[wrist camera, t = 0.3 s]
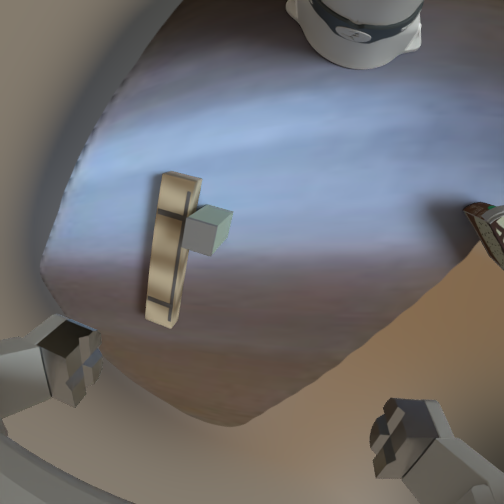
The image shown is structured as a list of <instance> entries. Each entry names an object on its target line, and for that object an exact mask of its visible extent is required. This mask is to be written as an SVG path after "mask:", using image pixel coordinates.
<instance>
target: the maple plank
mask: <svg viewBox="0 0 504 504" xmlns="http://www.w3.org/2000/svg"><path fill="white" fill-rule="evenodd" d="M201 184H202V179H201V178H197V177H193V176H189V175H185V174H181V173H177V172H173V171H170V172H167V173H164V174H163V175H162V181H161V187H160V193H159V200H158V206H157V213H156V220H155V227H154V235H153V243H152V251H151V260H150V269H149V279H148V290H147V302H146V314H145V319H147V320H150V321H152V322H155V323H157V324H160V325H163V326H165V327H168V328H170V329H171V328H172V327H173V326H174V324H175V323H176V322H177V320H178V316H179V309H180V303H181V296H182V290H183V283H184V277H185V271H186V265H187V259H188V253H189V250H188V249H185V248H182V241H183V235H184V229H185V223H186V218H187V217H189V216H190V215H192V214H193V213H195V212H196V209H197V204H198V199H199V194H200V189H201Z"/></svg>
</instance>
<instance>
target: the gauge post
mask: <svg viewBox="0 0 504 504" xmlns="http://www.w3.org/2000/svg"><path fill="white" fill-rule="evenodd" d="M232 216H233V211H229V210H226V209H222V208H219V207H215V206H212V205H208V204H207V205H206V206H204V207H203V208H201V209H200V210H198V211H196V212H195V213H193V214H192V215H190V216H189V217H187V218H186V223H185V229H184V235H183V241H182V248H185V249H188V250H191V251H194V252H198V253H201V254H204V255H207V256H211V255H212V254H213V253H214V252H215V251H216V250H217V248H218V247H219V246H220V245H221V244H222V243H223V242H224V241H225V239H226V238H227V237H228V233H229V229H230V224H231V220H232Z"/></svg>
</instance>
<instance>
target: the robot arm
mask: <svg viewBox="0 0 504 504" xmlns="http://www.w3.org/2000/svg"><path fill="white" fill-rule="evenodd" d="M423 2H424V0H288V1H287V3H286V11H287V13H288V14H289V15H290V16H291V17H292V18H293V19H295V20H296V21H297V22H298V23H299V24H300V26H301V28H302V30H303V32H304V34H305V36H306V38H307V40H308V42H309V43H310V44H311V46H312V47H313V48H314V49H315V50H316V51H317V52H318V53H319V54H320V55H322V56H323V57H324V58H326V59H328V60H329V61H331V62H333V63H335V64H338V65H340V66H343V67H347V68H352V69H372V68H376V67H380V66H382V65H385V64H387V63H388V62H390V61H391V60H393V59H394V58H395V57H397V56H398V55H400V54H402V53H408V52H413V51H416V50H417V49H419V47H420V45H421V24H420V11H421V8H422V5H423ZM101 343H102V342H101V333H100V332H99V331H98V330H96V329H93V328H91V327H88V326H86V325H83V324H81V323H78V322H76V321H74V320H71V319H68V318H66V317H63V316H61V315H59V314H54V315H52V316H51V317H49V318H48V319H47V320H46V321H44V322H43V323H41V324H40V325H39V326H38V327H36V328H35V329H34V330H33V331H31V332H30V333H29V334H27V335H26V336H25V337H23V338H21V337H19V336H18V337H13V338H8V339H3V340H0V504H135V503H133V502H130V501H127V500H125V499H122V498H120V497H117V496H115V495H112V494H110V493H108V492H105V491H103V490H101V489H99V488H97V487H94V486H92V485H90V484H88V483H86V482H84V481H82V480H80V479H78V478H76V477H74V476H72V475H70V474H68V473H66V472H64V471H63V470H61V469H59V468H57V467H55V466H53V465H52V464H50V463H48V462H46V461H45V460H43V459H41V458H40V457H38V456H36V455H35V454H33V453H31V452H30V451H28V450H27V449H25V448H24V447H22V446H20V445H19V444H18V443H16V442H15V441H13V440H12V439H10V438H9V437H7V436H8V432H7V429H6V427H5V425H4V423H3V421H2V419H3V418H5V417H8V416H10V415H13V414H15V413H17V412H20V411H22V410H25V409H27V408H30V407H32V406H34V405H37V404H39V403H42V402H44V401H46V400H48V399H50V398H51V397H52V398H55V399H57V400H59V401H61V402H63V403H65V404H67V405H70V406H72V407H74V408H76V406H77V405H78V404H79V403H80V401H81V400H82V399H83V398H84V396H85V395H86V387H88V386H91V385H94V384H95V382H96V381H97V380H98V379H99V376H100V374H101V371H102V366H103V356H102V354H101V352H100V351H99V349H98V347H99V346H100V344H101ZM383 410H384V413H385V414H383V415H382V416H380V417H378V418H377V419H376V421H375V422H374V424H373V426H372V429H371V433H370V448H371V450H372V451H373V452H374V453H375V454H376V457H375V458H374V459H373V465H374V471H375V477H376V478H379V479H380V478H381V479H402V481H403V483H404V484H405V485H406V486H407V488H408V489H409V490H410V491H411V493H412V494H413V495H414V496H415V498H416V499H417V500H418V502H419V503H420V504H504V473H502V472H501V471H500V470H499V469H497V468H496V467H495V466H494V465H492V464H491V463H490V462H489V461H487V460H486V459H484V458H483V457H482V456H481V455H480V454H478V453H477V452H476V451H474V450H473V449H472V448H471V447H469V446H468V445H467V444H466V443H465V442H463V441H462V440H461V439H460V438H454V435H453V433H452V431H451V428H450V426H449V424H448V421H447V419H446V417H445V415H444V413H443V410H442V408H441V406H440V404H439V402H437V401H436V400H414V399H400V398H390V399H389V400H388V401H387V402H386V404H385V405H384V407H383Z"/></svg>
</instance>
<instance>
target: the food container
mask: <svg viewBox="0 0 504 504" xmlns="http://www.w3.org/2000/svg"><path fill="white" fill-rule="evenodd" d="M463 211H464V213H465V215H466V216H467V218H468V220H469V221H470V223H471V225H472V226H473V228H474V230H475V231H476V233H477V235H478V237H479V239H480V240H481V242H482V244H483V246H484V248H485V249H486V251H487V253H488V255H489V256H490V258H492V259H493V260H494V261H495V262H496V263H497V264H498V265H499V266H500V267H501V268H502V269H503V270H504V205H503V206H497V207H496V206H493V205H490V204H487V203H483V202H478V203H473V204H471V205H469V206H467V207H466V208H464V209H463Z"/></svg>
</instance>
